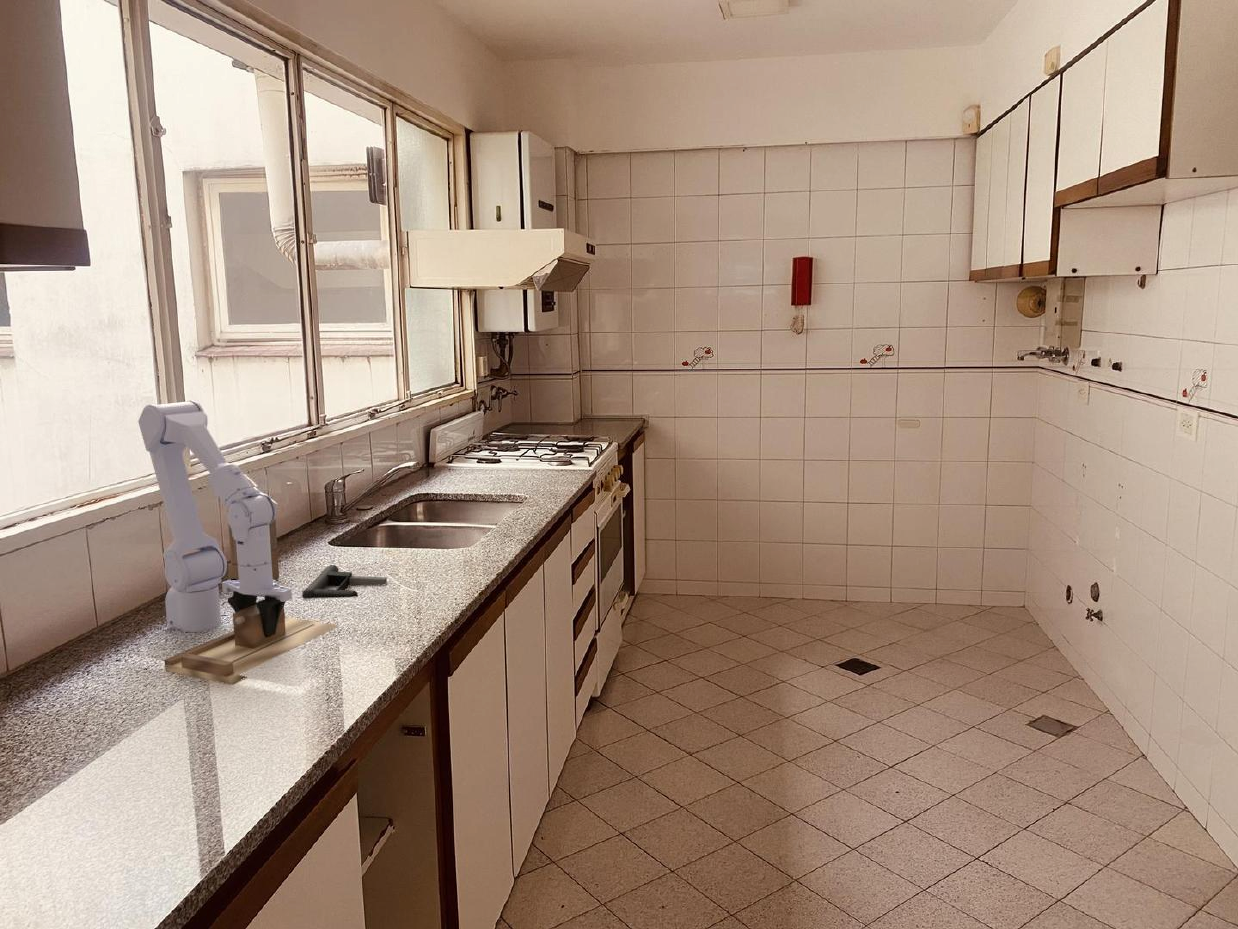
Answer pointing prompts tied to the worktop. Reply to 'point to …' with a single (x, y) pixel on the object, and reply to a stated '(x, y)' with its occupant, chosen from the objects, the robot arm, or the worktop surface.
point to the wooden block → (274, 553)
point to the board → (241, 652)
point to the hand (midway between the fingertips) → (259, 633)
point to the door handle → (338, 584)
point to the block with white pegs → (254, 628)
